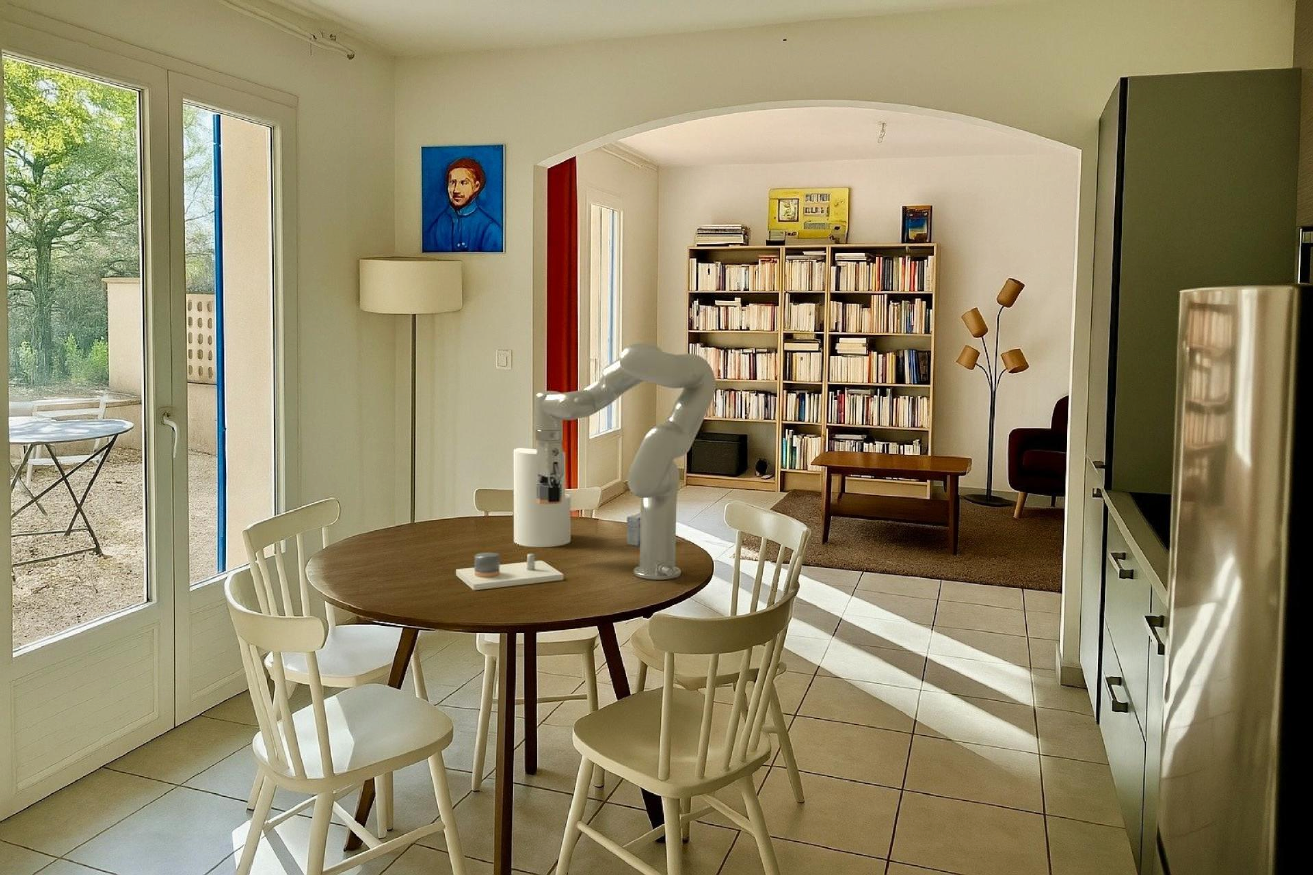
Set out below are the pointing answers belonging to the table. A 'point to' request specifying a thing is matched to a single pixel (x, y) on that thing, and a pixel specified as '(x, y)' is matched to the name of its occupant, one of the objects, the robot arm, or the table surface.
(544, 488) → the sleeve
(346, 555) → the table surface
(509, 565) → the pin board
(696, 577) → the table surface
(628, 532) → the medicine box
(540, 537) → the cylinder
